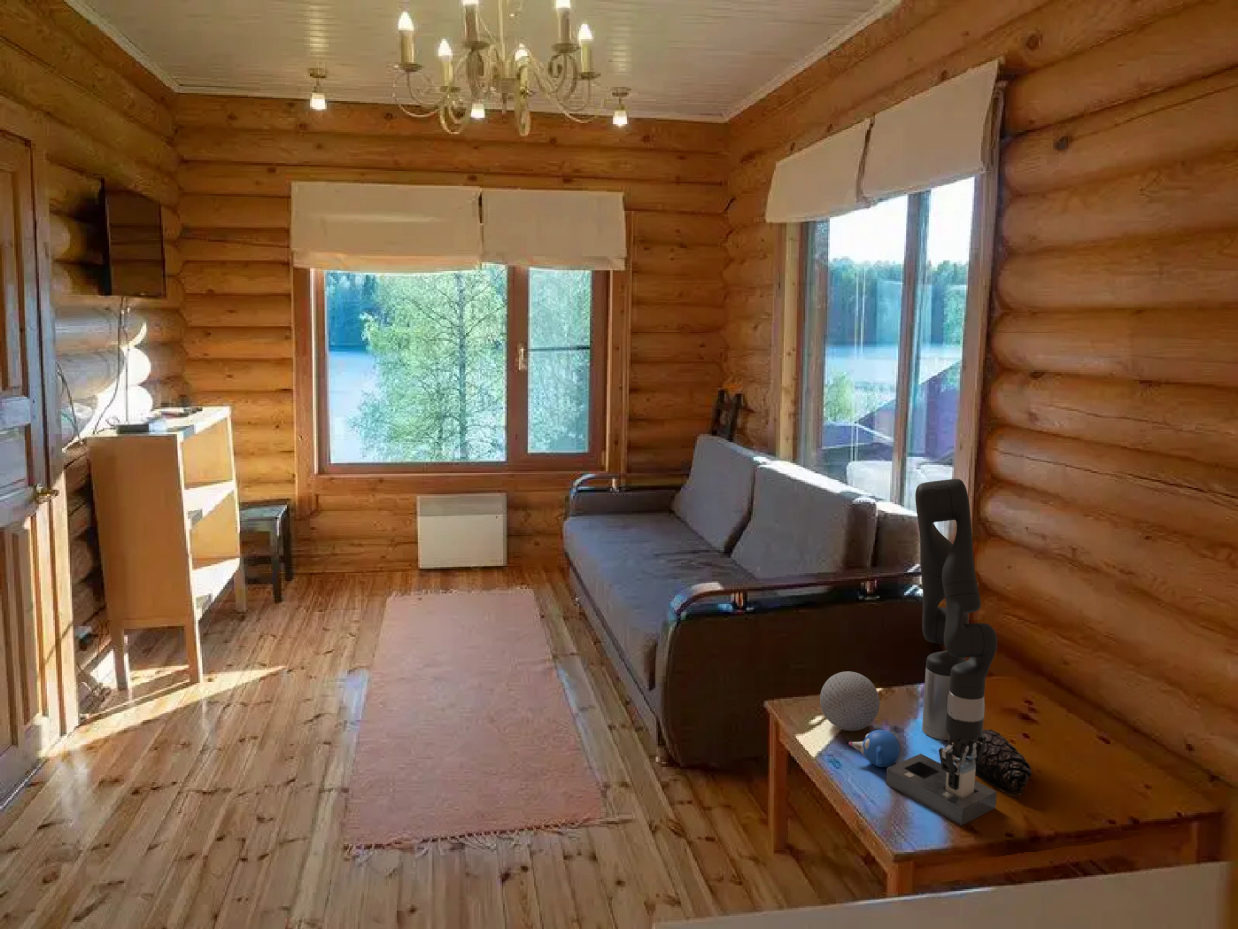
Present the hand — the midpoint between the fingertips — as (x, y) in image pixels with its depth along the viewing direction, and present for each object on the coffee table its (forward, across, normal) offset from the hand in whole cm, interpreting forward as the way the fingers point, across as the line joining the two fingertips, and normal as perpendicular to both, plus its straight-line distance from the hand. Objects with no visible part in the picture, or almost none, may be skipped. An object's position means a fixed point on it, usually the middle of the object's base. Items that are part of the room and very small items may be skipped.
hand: (960, 784), depth 195 cm
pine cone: (+5, -18, -2) cm, 19 cm away
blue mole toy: (+5, +1, -23) cm, 24 cm away
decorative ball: (+5, -8, -39) cm, 40 cm away
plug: (+5, 0, 0) cm, 5 cm away
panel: (+5, 0, -5) cm, 7 cm away
